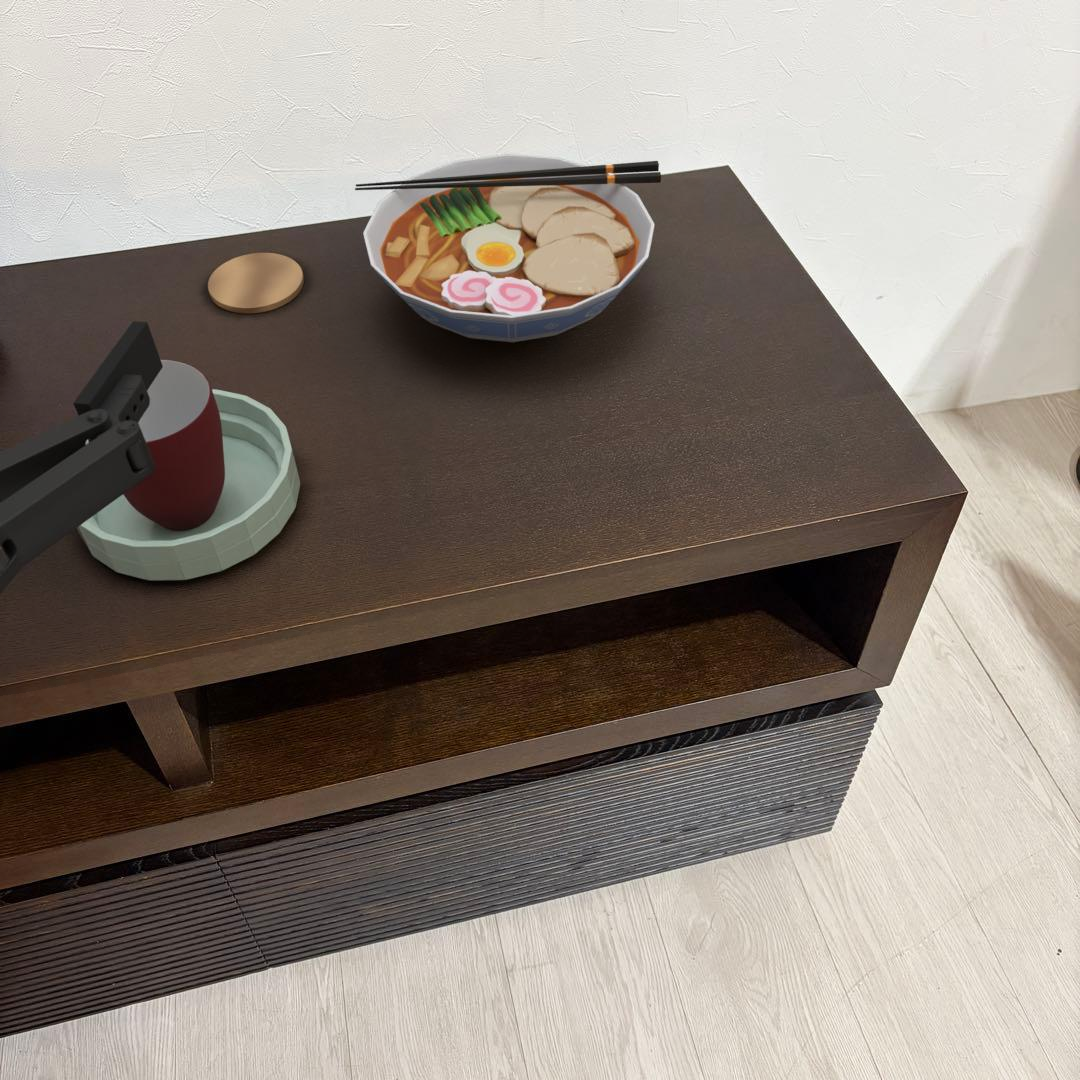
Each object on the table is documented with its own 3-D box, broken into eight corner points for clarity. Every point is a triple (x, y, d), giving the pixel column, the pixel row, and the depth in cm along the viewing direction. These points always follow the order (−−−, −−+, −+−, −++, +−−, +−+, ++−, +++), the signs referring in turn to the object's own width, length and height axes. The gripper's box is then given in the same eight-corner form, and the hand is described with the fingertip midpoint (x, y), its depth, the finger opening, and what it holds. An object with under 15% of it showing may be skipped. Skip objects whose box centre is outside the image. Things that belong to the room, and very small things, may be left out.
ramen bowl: (351, 401, 84) (334, 313, 78) (371, 232, 99) (359, 148, 93) (677, 390, 84) (687, 302, 78) (648, 224, 99) (653, 140, 93)
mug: (152, 444, 80) (111, 334, 72) (262, 445, 80) (232, 335, 72) (111, 553, 73) (60, 444, 65) (231, 555, 73) (194, 445, 65)
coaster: (215, 321, 90) (213, 316, 90) (203, 268, 96) (202, 262, 95) (311, 302, 92) (310, 296, 92) (295, 251, 97) (294, 245, 97)
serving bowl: (87, 610, 70) (66, 571, 67) (77, 457, 80) (58, 415, 77) (318, 553, 73) (308, 513, 70) (281, 412, 83) (271, 370, 80)
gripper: (-463, 688, 46) (-159, 379, 60) (90, 756, 42) (272, 410, 57) (-604, 565, 40) (-233, 259, 55) (16, 631, 37) (237, 285, 51)
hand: (24, 335), depth 56 cm, fingers open, 13 cm apart
